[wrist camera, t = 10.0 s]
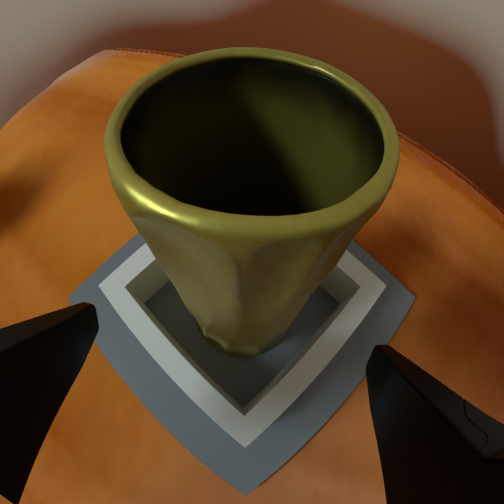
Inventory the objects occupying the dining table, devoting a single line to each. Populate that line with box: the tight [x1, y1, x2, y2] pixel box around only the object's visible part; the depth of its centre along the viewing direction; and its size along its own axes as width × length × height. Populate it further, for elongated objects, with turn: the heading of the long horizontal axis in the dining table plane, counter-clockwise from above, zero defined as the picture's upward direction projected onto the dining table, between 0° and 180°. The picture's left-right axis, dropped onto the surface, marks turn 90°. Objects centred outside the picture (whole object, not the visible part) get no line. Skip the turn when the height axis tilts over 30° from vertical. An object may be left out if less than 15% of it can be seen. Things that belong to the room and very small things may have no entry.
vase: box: [103, 47, 400, 356], centre depth 11 cm, size 6×6×14 cm
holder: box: [68, 233, 416, 496], centre depth 16 cm, size 18×18×4 cm
